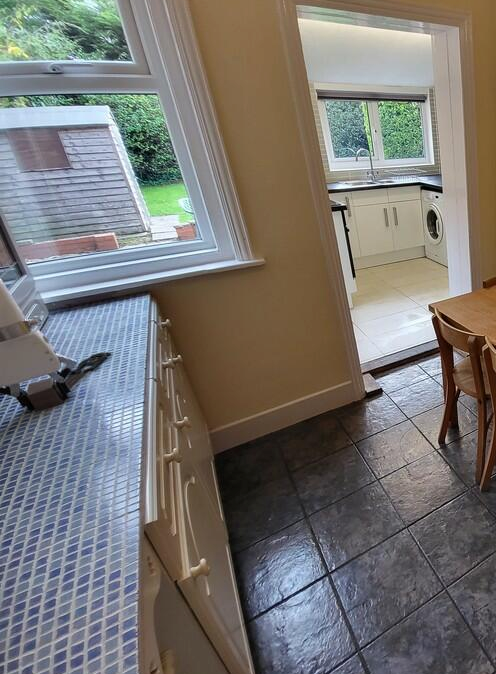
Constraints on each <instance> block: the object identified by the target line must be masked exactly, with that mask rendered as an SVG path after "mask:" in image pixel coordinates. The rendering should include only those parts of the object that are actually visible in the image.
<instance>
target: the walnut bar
mask: <svg viewBox="0 0 496 674" xmlns="http://www.w3.org/2000/svg"><path fill="white" fill-rule="evenodd" d="M26 392H27V397H28V398H29V400H30V401H31V403H32V404H33V406H34V409H35V410H36V412H41V411H44V410H47V409H51V408H53V407H56V406H60V405H62V404H63V398H62V394H61V393H60V391H59V389H58V388H57V386H56V380H54V379H53V378H52V377H48V378H44V379H42V380H37V381H35V382H31V383H28V385H27V391H26Z"/></svg>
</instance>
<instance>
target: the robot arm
mask: <svg viewBox="0 0 496 674" xmlns="http://www.w3.org/2000/svg"><path fill="white" fill-rule="evenodd" d="M39 325H40V322H39V320H38V319H37V318H35V319H29V318H27V317H26V316H25V315H24V314H23V312H22V310H21V308H20V307H19V305H18V304H17V302H16V301H15V298H14V297H13V296H12V293H11V292H10V290H9V289H8V287H7V286H6V284H5V283H4V281H3V280H2V279H1V277H0V395H6V396H11V398H12V397H13V398H15V399H16V400H17V402H18V403H19V404H20V406H21V408H27V410H28V411H29V412H30V411H32V410H34V409H35V407H34V406H33V404H32V403H31V401H30V400H29V398H28V397H27V392H28V391H26V390H24V389H22V388H21V383H24V382H27V381H31V380H34V379H37V378H41V377H44V376H49V378H51V377H52V378H53V379H54V380H55V382H56V386H57V388H58V389H59V391H60V393H61V394H62V396H63V399H69V397H70V393H72V390H70V388H69V386H68V384H67V383H66V381H65V380H66V379H67V378H68V377H69V376H70V374H71V373H70V371H71V370H74V368H75V367H77V366H78V360H77V359H75V358H72V357H68V356H65V355H62V354H60V353H58V352H57V350H56V348H55V347H54V346H53V344H51V342H50V341H49V339H48V338H47V337H46V336H45V335H44V333H43V332H42V331H41V330H39V329H38V328H34V327H36V326H39ZM62 364H65V366H64V367H62ZM59 370H61V371H59Z"/></svg>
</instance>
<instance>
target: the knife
mask: <svg viewBox="0 0 496 674" xmlns="http://www.w3.org/2000/svg"><path fill="white" fill-rule="evenodd" d="M110 356H112V354H111V352H109V351H107V352H97V353H95V354H92V355H90V357H87V358H85V359H83V360H82V361H81V362H80V363H77V366H76V369H72V370H71V371H70V373H69V375H68V376H67V378H66V379H65V381H66V383H67V384H68V386H69V388H70V390H71V391H72V390H74V389H75V388H76V387H77V386H78V385H79V384H80V383H81V382H82V381H84V379H85V378H86V377H87V376H88V375H89V374H90V373H91V372H93V371H94V370H95V369H98V368H100V365H98V364H99V363H100V364H104V363H105V361H106V360H108V357H110ZM90 361H91V362H90ZM85 365H87V366H90V367H88V368H84V369H83V370H82V368H83V367H84V366H85ZM62 399H64V397H63V396H62Z"/></svg>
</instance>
